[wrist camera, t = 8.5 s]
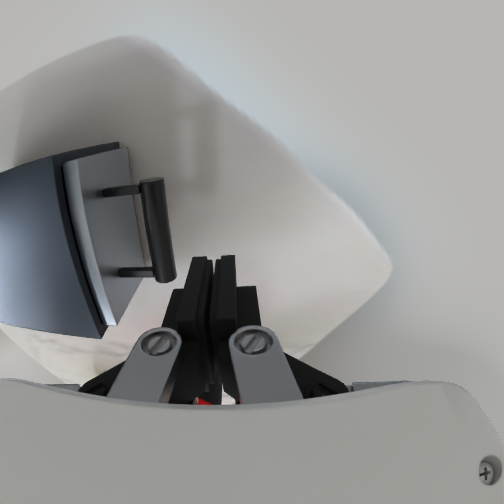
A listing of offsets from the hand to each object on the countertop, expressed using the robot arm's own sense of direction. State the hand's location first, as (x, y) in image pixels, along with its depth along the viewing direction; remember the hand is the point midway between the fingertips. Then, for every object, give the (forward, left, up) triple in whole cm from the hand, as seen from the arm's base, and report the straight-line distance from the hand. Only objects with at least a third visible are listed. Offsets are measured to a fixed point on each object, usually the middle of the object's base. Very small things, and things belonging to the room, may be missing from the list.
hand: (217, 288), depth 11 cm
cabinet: (-17, 0, -13) cm, 21 cm away
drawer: (-13, 0, -12) cm, 17 cm away
